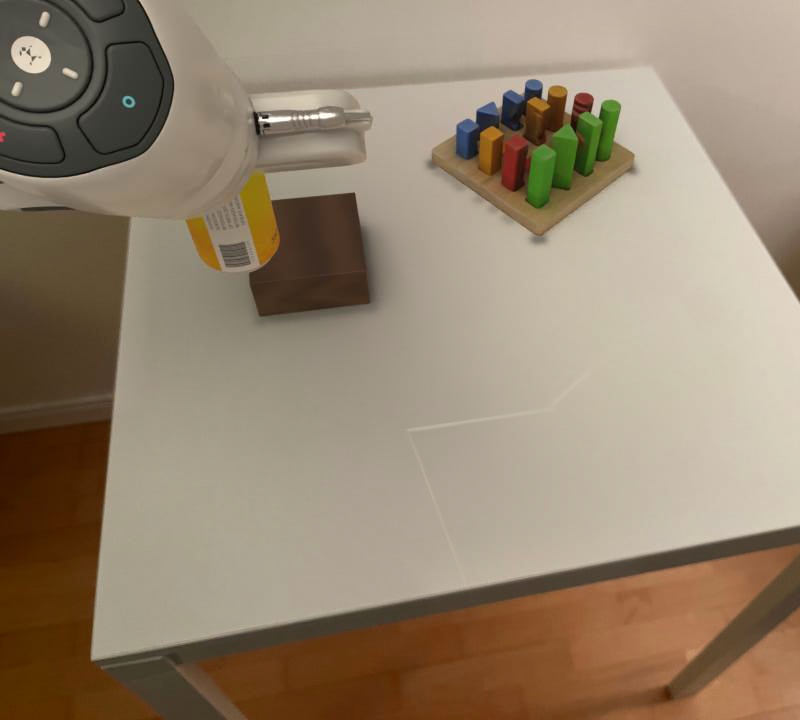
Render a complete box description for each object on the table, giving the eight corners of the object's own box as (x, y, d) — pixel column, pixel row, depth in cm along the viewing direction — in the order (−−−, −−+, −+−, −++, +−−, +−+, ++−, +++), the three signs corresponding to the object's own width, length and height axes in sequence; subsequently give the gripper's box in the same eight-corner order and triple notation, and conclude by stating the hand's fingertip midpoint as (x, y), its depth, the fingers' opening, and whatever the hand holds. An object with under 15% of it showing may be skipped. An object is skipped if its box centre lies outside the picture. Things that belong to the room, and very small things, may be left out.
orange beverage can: (272, 214, 59) (229, 40, 46) (289, 268, 56) (248, 96, 43) (194, 231, 57) (128, 56, 45) (207, 288, 54) (140, 115, 42)
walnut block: (259, 316, 73) (249, 283, 69) (256, 237, 79) (246, 202, 75) (370, 303, 75) (367, 270, 71) (359, 226, 81) (355, 192, 77)
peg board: (527, 99, 95) (535, 38, 88) (634, 166, 89) (651, 106, 82) (429, 160, 88) (429, 98, 81) (538, 238, 81) (548, 178, 74)
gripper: (365, 48, 38) (361, 96, 51) (-74, 77, 34) (45, 121, 48) (381, 174, 39) (373, 189, 52) (-42, 214, 36) (65, 219, 49)
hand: (213, 157), depth 50 cm, fingers closed on orange beverage can, 6 cm apart
